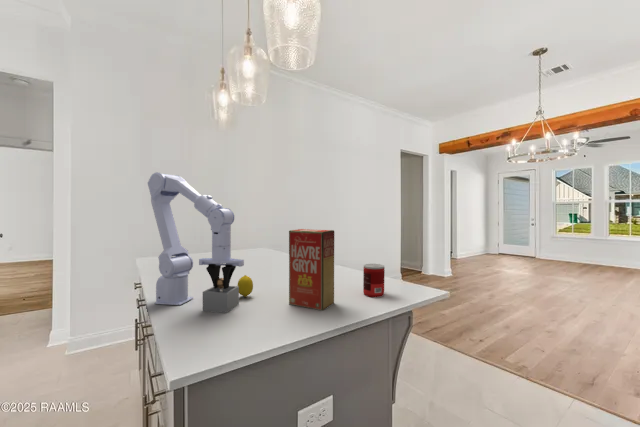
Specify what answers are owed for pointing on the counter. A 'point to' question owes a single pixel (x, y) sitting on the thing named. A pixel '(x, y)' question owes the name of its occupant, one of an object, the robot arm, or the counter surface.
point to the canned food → (373, 280)
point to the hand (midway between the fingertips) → (221, 287)
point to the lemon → (245, 285)
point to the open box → (220, 299)
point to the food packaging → (311, 268)
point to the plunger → (220, 284)
